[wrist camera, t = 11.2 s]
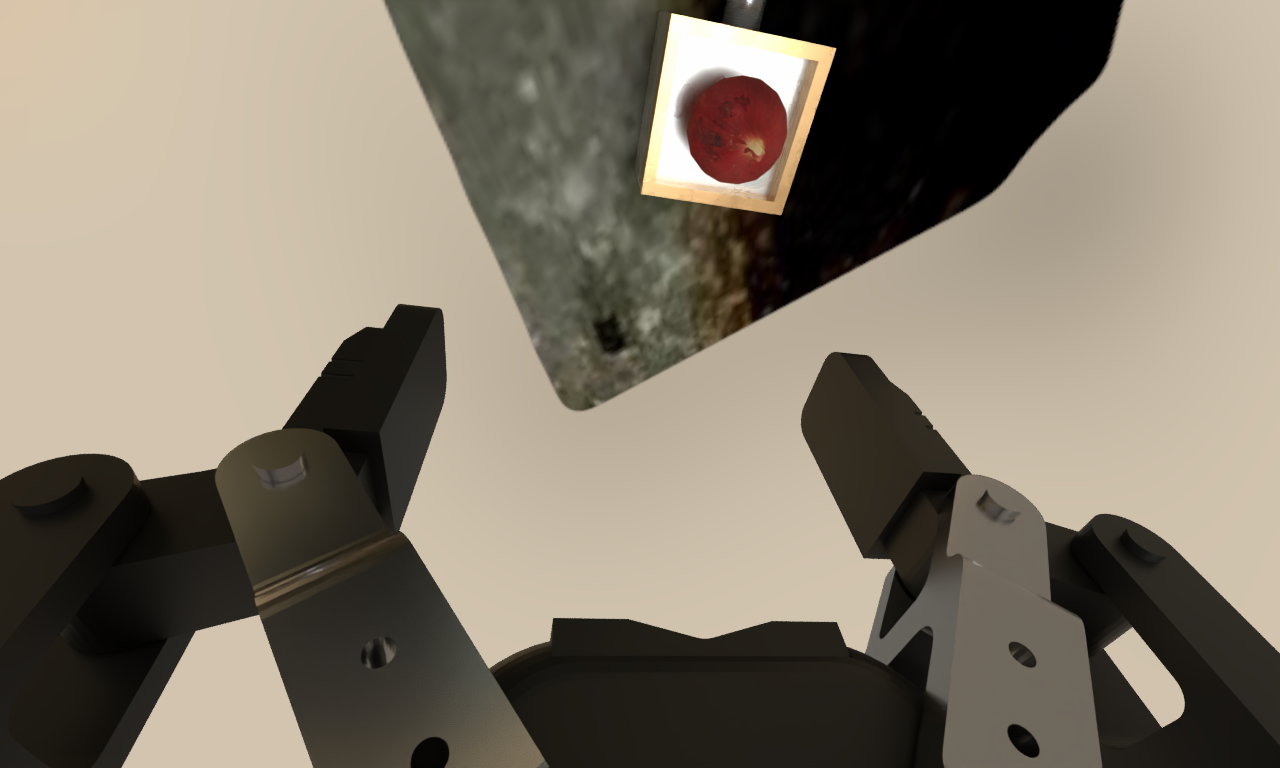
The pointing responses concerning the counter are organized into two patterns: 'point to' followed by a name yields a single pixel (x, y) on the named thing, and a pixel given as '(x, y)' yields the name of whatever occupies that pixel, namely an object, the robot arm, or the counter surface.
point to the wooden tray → (699, 60)
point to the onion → (737, 129)
